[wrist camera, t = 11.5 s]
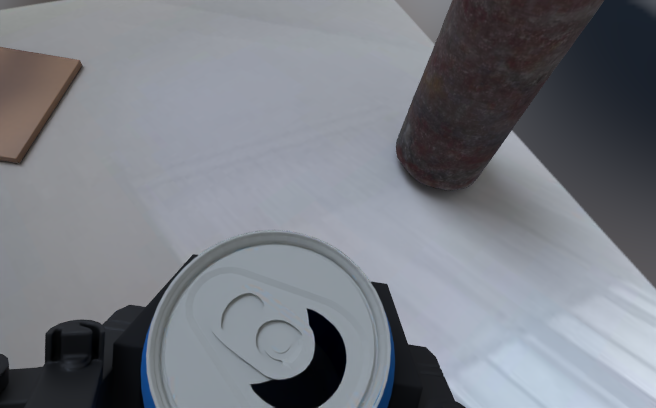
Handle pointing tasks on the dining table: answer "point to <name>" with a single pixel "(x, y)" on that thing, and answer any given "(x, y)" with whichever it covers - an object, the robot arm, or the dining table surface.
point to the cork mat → (29, 96)
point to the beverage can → (269, 330)
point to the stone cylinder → (483, 83)
